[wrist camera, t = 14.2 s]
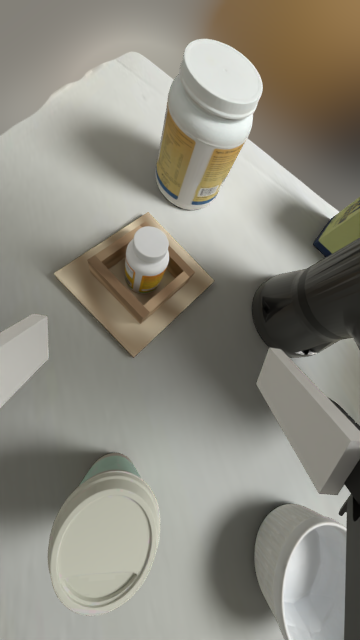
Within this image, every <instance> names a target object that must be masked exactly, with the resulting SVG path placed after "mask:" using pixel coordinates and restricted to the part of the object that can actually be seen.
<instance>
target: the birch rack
mask: <svg viewBox="0 0 360 640" xmlns="http://www.w3.org/2000/svg"><path fill="white" fill-rule="evenodd" d="M146 226H151V227H155V228H158V229H160V230H161V231H162V232H163V233H164V234H165V235H166V236H167V239H168V242H169V247H168V252H169V262H168V265H167V268H166V270H165V272H164V275H163V277H162V279H161V282H160V284H159V286H158V287H157V288H156V289H155V290H154V291H153V292H150V293H146V294H141V293H137V292H135V291H133V290H132V289H130V288H129V286H128V285H127V283H126V281H125V260H126V250H127V246H128V244H129V243H130V241H131V240H132V239H133V238H134V235H135V233H136V232H137V231H138V230H139V229H140V228H142V227H146ZM54 275H55V276H56V278H57V279H58V280H59V281H60V282H61V283H62V284H63V285H64V286H65V287H66V288H67V289H68V290H69V291H70V292H71V293H72V294H73V295H74V296H75V297H76V298H77V299H78V300H79V301H80V303H81V304H82V305H83V306H84V307H85V308H86V309H87V310H88V311H89V312H90V313H91V314H92V315H93V316H94V317H95V318H96V319H97V320H98V321H99V322H100V323H101V324H102V325H103V326H104V327H105V328H106V330H107V331H108V332H109V333H110V334H111V335H112V336H113V337H114V338H115V339H116V340H117V341H118V342H119V343H120V344H121V345H122V346H123V347H124V348H125V349H126V350H127V351H128V352H129V353H130V354H131V356H132V357H133V358H134V357H135V356H136V355H137V354H138V353H139V352H140V351H141V350H142V349H143V348H144V347H145V346H147V345H148V344H149V343H150V342H151V341H152V340H153V339H154V338H155V337H156V336H157V335H158V334H159V333H160V332H161V331H162V330H163V329H164V328H166V327H167V326H168V325H169V324H170V323H171V322H172V321H173V320H174V319H175V318H176V317H177V316H178V315H179V314H180V313H181V312H182V311H184V310H185V309H186V308H187V307H188V306H189V305H190V304H191V303H192V302H193V301H194V300H195V299H196V298H197V297H198V296H199V295H200V294H201V293H203V292H204V291H205V290H206V289H207V288H208V287H209V286H210V285H211V284H212V283H213V282H214V280H213V279H212V278H211V277H210V276H209V275H208V274H207V273H206V272H205V270H204V269H203V268H202V267H201V266H200V265H199V264H198V263H197V262H196V261H195V260H194V259H193V258H192V257H191V256H190V255H189V254H188V253H187V252H186V251H185V250H184V249H183V248H182V247H181V246H180V244H179V243H178V242H177V241H176V240H175V239H174V238H173V237H172V236H171V235H170V234H169V233H168V232H167V231H166V230H165V229H164V228H163V227H162V226H161V225H160V224H159V223H158V222H157V221H156V219H155V218H154V217H153V216H152V215H151V214H150V213H149V212H147V213H146V214H144V215H143V216H141V217H140V218H138V219H137V220H135V221H134V222H132V223H130V224H129V225H127V226H126V227H124V228H123V229H121V230H120V231H118V232H117V233H115V234H113V235H112V236H110V237H109V238H107V239H106V240H104V241H103V242H101V243H100V244H98V245H96V246H95V247H93V248H92V249H90V250H89V251H87V252H86V253H84V254H83V255H81V256H80V257H78V258H76V259H75V260H73V261H72V262H70V263H69V264H67V265H66V266H64V267H63V268H61V269H59V270H58V271H56V272H55V273H54Z"/></svg>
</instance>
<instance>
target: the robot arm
mask: <svg viewBox="0 0 360 640" xmlns="http://www.w3.org/2000/svg"><path fill="white" fill-rule="evenodd" d="M252 313H253V319H254V323H255V326H256V328H257V331H258V333H259V334H260V336H261V338H262V339H263V340H264V342H265V343H266V344H267V345H268V346H269V347H270V348H269V350H268V352H267V355H266V358H265V361H264V364H263V366H262V369H261V372H260V375H259V377H258V380H257V383H256V385H257V386H258V388H259V390H260V392H261V393H262V395H263V397H264V399H265V400H266V402H267V404H268V406H269V407H270V409H271V411H272V413H273V414H274V416H275V418H276V420H277V421H278V423H279V425H280V427H281V428H282V430H283V432H284V434H285V435H286V437H287V439H288V441H289V442H290V444H291V446H292V447H293V449H294V451H295V453H296V454H297V456H298V458H299V460H300V461H301V463H302V465H303V467H304V468H305V470H306V472H307V474H308V475H309V477H310V479H311V481H312V482H313V484H314V486H315V488H316V489H317V491H318V493H319V494H330V495H338V493H339V492H340V490H341V489H342V487H343V486H344V484H345V485H346V487H347V488H348V490H349V491H350V493H351V495H350V496H349V497H348V499H347V500H346V502H345V503H344V505H343V506H342V508H341V509H340V511H339V515H341V516H342V515H343V514H344V513H345V512H347V531H346V575H345V618H344V640H360V426H359V425H358V424H357V423H355V421H354V420H353V419H352V418H351V417H350V416H348V414H347V413H346V412H345V411H344V410H343V409H342V408H341V407H340V406H339V405H338V404H337V403H335V402H334V401H333V400H331V399H330V398H328V397H327V396H326V395H325V394H324V393H323V392H322V391H321V390H320V389H319V388H318V387H317V386H316V385H315V384H314V383H313V382H312V381H311V380H310V379H309V378H308V377H307V376H306V375H305V374H304V373H303V372H302V371H301V370H300V368H299V367H298V366H297V365H296V364H295V363H294V362H293V361H292V360H291V359H290V358H289V357H292V358H299V357H307V356H311V355H315V354H317V353H319V352H321V351H322V350H324V349H326V348H327V347H329V346H331V345H332V344H334V343H336V342H338V341H339V340H342V339H347V338H354V340H355V342H356V344H357V346H358V348H359V350H360V238H358V239H356V240H355V241H353V242H351V243H350V244H348V245H346V246H345V247H343V248H341V249H339V250H338V251H336V252H334V253H333V254H331V255H329V256H328V257H326V258H324V259H323V260H321V261H319V262H317V263H316V264H314V265H312V266H311V267H309V268H307V269H303V270H298V271H293V272H288V273H283V274H279V275H276V276H274V277H272V278H271V279H269V280H268V281H266V282H265V283H263V284H262V285H261V286H260V287H259V288H258V290H257V292H256V294H255V296H254V299H253V305H252ZM48 359H49V345H48V319H47V316H45V315H38V314H32V315H30V316H28V317H26V318H25V319H23V320H21V321H19V322H18V323H16V324H14V325H13V326H11V327H9V328H7V329H6V330H4V331H2V332H0V408H1V407H2V406H3V405H4V404H5V403H6V402H7V401H8V400H9V399H10V398H11V397H12V396H13V395H14V394H15V392H16V391H17V390H18V389H19V388H20V387H21V386H22V385H23V384H24V383H25V382H26V381H27V380H28V379H29V378H30V377H31V376H32V375H33V374H34V373H35V372H36V371H37V370H38V369H39V368H40V367H41V366H42V365H43V364H44V363H45V362H46V361H47V360H48Z"/></svg>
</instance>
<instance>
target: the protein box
mask: <svg viewBox="0 0 360 640" xmlns="http://www.w3.org/2000/svg"><path fill="white" fill-rule="evenodd" d="M358 238H360V197H359V198H358V199H356V200H355V201H354V202H353V203H351V204H350V205H349V206H347V207H346V208H345V209H343V210H342V211H341V212H339V213H338V214H337V215H335V216H334V217H333V218H331V219H330V221H329V222H328V224H327V225H326V226H325V228H324V229H323V230H322V232H321V233H320V235H319V236H318V237H317V239H316V240H315V242H314V243H313V245H314V246H315V247H316V248H317V249H318V250H319V251H320V252H322V253H323V254H324V255H325V256H326V257H328V256H329V255H331V254H333V253H334V252H336V251H338V250H339V249H341V248H343V247H345V246H346V245H348V244H350V243H351V242H353V241H355V240H356V239H358Z"/></svg>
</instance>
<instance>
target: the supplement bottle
mask: <svg viewBox="0 0 360 640" xmlns="http://www.w3.org/2000/svg"><path fill="white" fill-rule="evenodd" d="M168 247H169V242H168V239H167V236H166V235H165V234H164V233H163V232H162V231H161V230H160V229H158V228H155V227H151V226H146V227H142V228H140V229H139V230H138V231H137V232H136V233H135V235H134V238H133V239H132V240H131V241H130V243H129V244H128V246H127V250H126V260H125V281H126V283H127V285H128V286H129V288H130V289H132V290H133V291H135V292H137V293H141V294H146V293H150V292H153V291H154V290H155V289H156V288H157V287H158V286H159V284H160V282H161V279H162V277H163V275H164V272H165V270H166V268H167V265H168V262H169V252H168Z"/></svg>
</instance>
